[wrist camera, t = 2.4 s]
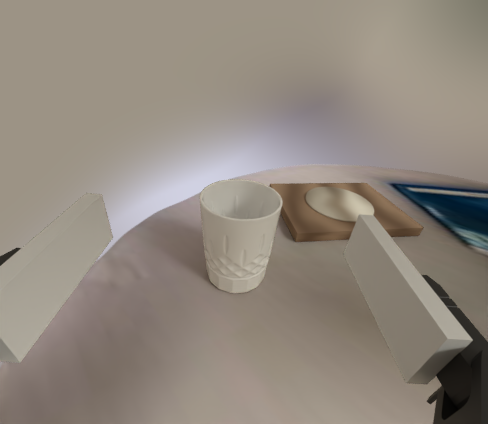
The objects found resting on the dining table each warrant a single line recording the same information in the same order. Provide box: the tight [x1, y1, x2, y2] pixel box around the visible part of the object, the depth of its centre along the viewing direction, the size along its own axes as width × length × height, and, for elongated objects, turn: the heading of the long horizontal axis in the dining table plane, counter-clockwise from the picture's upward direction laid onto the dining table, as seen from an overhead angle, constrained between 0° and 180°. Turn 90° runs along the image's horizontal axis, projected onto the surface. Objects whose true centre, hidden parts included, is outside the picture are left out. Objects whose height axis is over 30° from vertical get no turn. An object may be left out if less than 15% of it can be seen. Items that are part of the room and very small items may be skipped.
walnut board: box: [270, 183, 423, 242], centre depth 41 cm, size 20×15×2 cm
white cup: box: [200, 179, 283, 293], centre depth 26 cm, size 8×8×10 cm
